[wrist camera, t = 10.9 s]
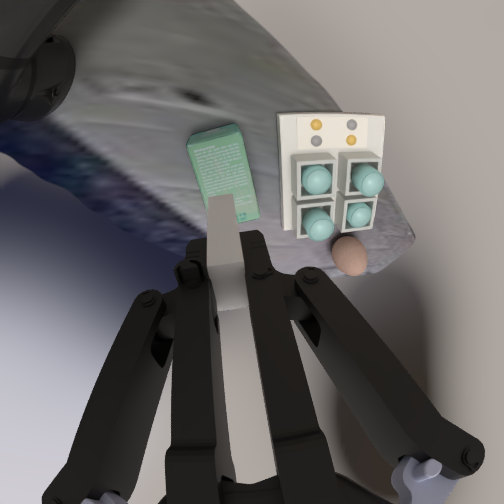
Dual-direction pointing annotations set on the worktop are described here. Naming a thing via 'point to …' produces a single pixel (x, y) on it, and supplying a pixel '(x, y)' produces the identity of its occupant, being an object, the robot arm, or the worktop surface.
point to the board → (326, 163)
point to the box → (224, 169)
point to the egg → (349, 255)
